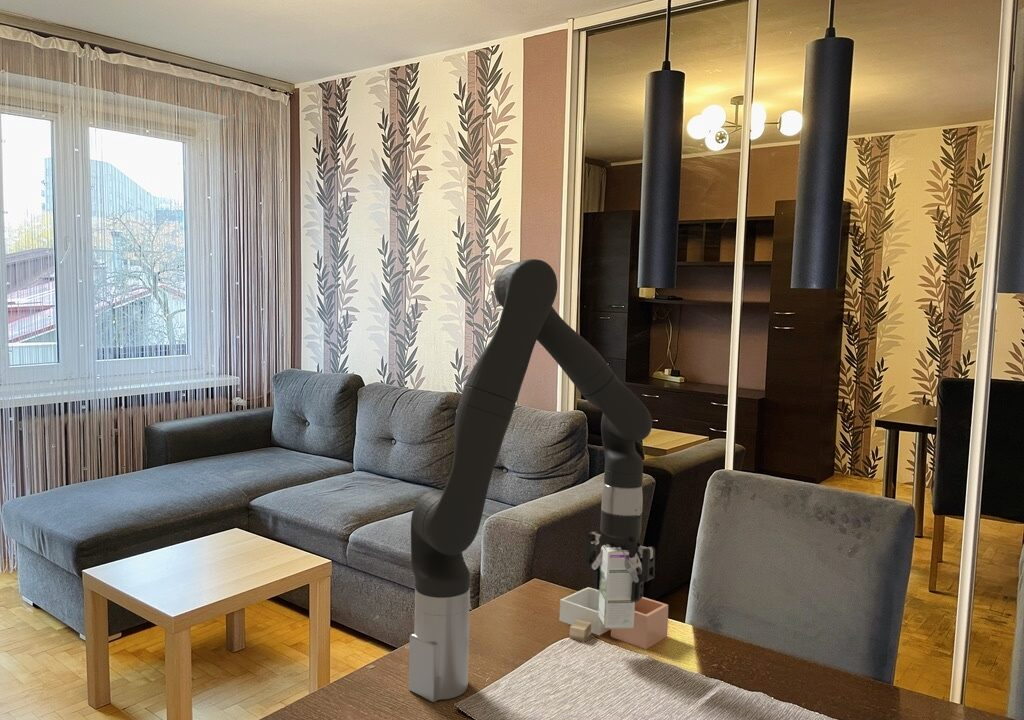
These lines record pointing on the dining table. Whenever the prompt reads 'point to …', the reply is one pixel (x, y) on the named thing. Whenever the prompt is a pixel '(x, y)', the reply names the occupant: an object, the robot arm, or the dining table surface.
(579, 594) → the bin
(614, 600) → the syrup box
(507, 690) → the dining table surface
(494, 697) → the dining table surface
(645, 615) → the open box
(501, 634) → the dining table surface
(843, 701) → the dining table surface
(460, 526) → the robot arm
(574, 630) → the beech block
